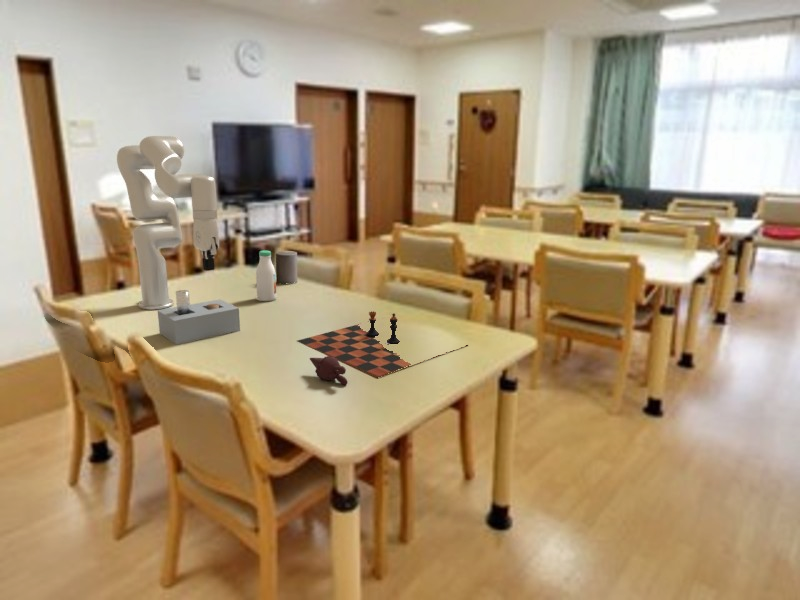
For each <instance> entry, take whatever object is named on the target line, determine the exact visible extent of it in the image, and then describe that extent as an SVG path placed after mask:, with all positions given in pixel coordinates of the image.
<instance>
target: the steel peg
mask: <svg viewBox="0 0 800 600" xmlns="http://www.w3.org/2000/svg"><path fill="white" fill-rule="evenodd" d="M175 299H176V300H175V301H176V307H177V313H178V315H179V316H180V315H185V314H190V313H191V312H190V305H191V302H190V291H189V290H188V289H187V290H186V289H181V290H180V289H179V290H177V291H175Z"/></svg>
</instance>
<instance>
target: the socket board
mask: <svg viewBox="0 0 800 600" xmlns="http://www.w3.org/2000/svg"><path fill="white" fill-rule="evenodd" d="M209 304H219V308H217V309H211V310H208V309H207V305H209ZM190 312H191V313H190V314H185V315H180V316H179V315H178V313H177V306H175V307H168V308H163V309H157V319H158V329H159V334H160V335H161V336H163V337H165V338H166V339H167V340H169V341H170V342H172V343H173V344H175V346H177V345H182V344H186V343H190V342H191V343H192V342H194V341H199V340H205V339H208V338H213V337H218V336H223V335H227V334H231V332H232V333H236V332H239V331H241V327H240V326H241V324H240V308H239V307H237V306H235V305H233V304H231V303H229V302H227V301H224V300H222V299H221V298H220V299H214V300H207V301H204V302H198V303H193V304H191V303H190ZM226 333H227V334H226Z"/></svg>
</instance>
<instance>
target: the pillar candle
mask: <svg viewBox="0 0 800 600" xmlns="http://www.w3.org/2000/svg"><path fill="white" fill-rule="evenodd" d="M275 275H276V281H277V282H276V284H279V283H281V285H287V284H286V283H294V282H296V283H298V252H297V251H293V250H279V251H276V252H275ZM294 284H295V283H294Z"/></svg>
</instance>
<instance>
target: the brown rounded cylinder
mask: <svg viewBox="0 0 800 600" xmlns="http://www.w3.org/2000/svg"><path fill="white" fill-rule="evenodd" d="M217 308H219V304H209V305H207V309H208V310H211V309H217Z"/></svg>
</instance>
